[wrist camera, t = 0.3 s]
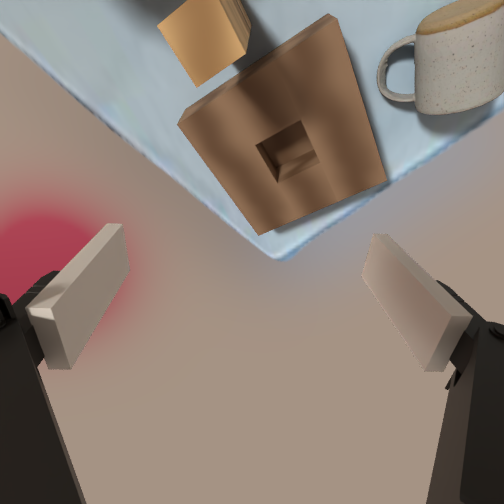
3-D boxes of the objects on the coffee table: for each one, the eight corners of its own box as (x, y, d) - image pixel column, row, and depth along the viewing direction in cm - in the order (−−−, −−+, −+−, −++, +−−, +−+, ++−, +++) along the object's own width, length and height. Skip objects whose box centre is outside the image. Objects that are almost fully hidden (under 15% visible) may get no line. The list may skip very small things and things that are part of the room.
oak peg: (230, -22, 28) (209, -19, 17) (251, 25, 30) (246, 53, 19) (195, 6, 29) (156, 25, 18) (219, 48, 32) (196, 88, 21)
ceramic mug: (485, -19, 28) (540, -16, 22) (480, 73, 33) (523, 94, 27) (368, 38, 31) (389, 52, 25) (379, 113, 36) (400, 139, 30)
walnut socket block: (327, 13, 29) (337, 18, 26) (375, 161, 40) (387, 180, 36) (185, 109, 36) (176, 124, 32) (258, 215, 46) (258, 235, 43)
